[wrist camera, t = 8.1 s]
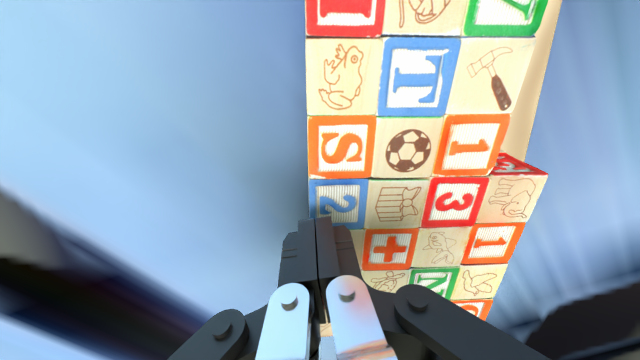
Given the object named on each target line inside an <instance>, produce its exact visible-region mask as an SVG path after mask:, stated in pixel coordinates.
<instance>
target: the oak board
mask: <svg viewBox="0 0 640 360" xmlns="http://www.w3.org/2000/svg"><path fill="white" fill-rule="evenodd" d="M561 3H562V0H548V3H547V6H546V9H545V12H544V15H543V18H542V22H541V25H540V27H539V28H538V30H537V32H536V33H535V37H536V44H535V47H534V50H533V53H532V56H531V59H530V62H529V65H528V68H527V71H526V74H525V77H524V80H523V83H522V86H521V89H520V92H519V95H518V98H517V101H516V104H515V107H514V109H513V111H512V112H511V119H510V124H509V126H508V129H507V132H506V135H505V138H504V141H503V144H502V146H501V150H503V151H505V152H506V153H507V154H508V155H510V156H512V157H514V158H516V159H518V160H520V161H522V162H524V160H525V156H526V152H527V148H528V143H529V139H530V135H531V131H532V126H533V122H534V118H535V114H536V109H537V105H538V101H539V96H540V92H541V88H542V84H543V79H544V75H545V71H546V67H547V62H548V58H549V54H550V50H551V45H552V41H553V37H554V32H555V28H556V24H557V20H558V15H559V11H560V7H561Z"/></svg>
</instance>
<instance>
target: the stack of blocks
mask: <svg viewBox="0 0 640 360" xmlns="http://www.w3.org/2000/svg"><path fill="white" fill-rule="evenodd" d="M547 3H548V0H305V34H306V40H305V52H306V97H307V139H308V189H309V219H312V218H314V219H315V223H316V218H319V217H325V216H331V220H332V226H340V225H345V226H346V227H347V228H348V229H349V230H350V232H351V236H352V240H353V243H354V248H355V251H356V255H357V259H358V263H359V267H360V271H361V275H362V277H363V279H364V281H365V282H366V283H367V284H368V285H369V286H371V287H372V288H374V289H376V290H379V291H384V292H391V293H396V291H397V290H398V289H399V288H400V287H402V286H404V285H408V284H418V285H422V286H425V287H427V288H429V289H431V290H432V291H434V292H436V293H438V294H439V295H441V296H443V297H444V298H446V299H448V300H450V301H451V302H453V303H455V304H456V305H458V306H460V307H462V308H463V309H465V310H467V311H468V312H470V313H472V314H474V315H475V316H477V317H479V318H480V319H482V320H484V321H485V319H486V317H487V314H488V312H489V310H490V307H491V305H492V303H493V298H492V297H494V296H495V293H496V291H497V289H498V287H499V285H500V282H501V280H502V278H503V275H504V273H505V271H506V269H507V266H508V260H509V259H510V258H511V256H512V254H513V251H514V249H515V246H516V244H517V242H518V240H519V238H520V236H521V234H522V232H523V229H524V226H525V223H526V222H527V221H528V219H529V217H530V215H531V213H532V211H533V209H534V207H535V204H536V202H537V200H538V198H539V195H540V193H541V191H542V189H543V187H544V184H545V182H546V180H547V177H548V173H546V172H544V171H542V170H540V169H538V168H535V167H533V166H531V165H529V164H527V163H525V162H522V161H520V160H518V159H516V158H514V157H512V156H510V155H508V154H507V153H506V152H505V151H503V150H501V146H502V144H503V141H504V138H505V135H506V132H507V129H508V126H509V124H510V119H511V112H512V111H513V109H514V107H515V104H516V101H517V98H518V95H519V92H520V89H521V86H522V83H523V80H524V77H525V74H526V71H527V68H528V65H529V62H530V59H531V56H532V53H533V50H534V47H535V44H536V37H535V33H536V32H537V30H538V28H539V27H540V25H541V22H542V18H543V15H544V12H545V9H546V6H547ZM325 313H326V310H325ZM320 333H321V337H326V336H333V332H332V327H331V323H328V320H327V315H326V324H320Z"/></svg>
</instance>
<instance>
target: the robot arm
mask: <svg viewBox="0 0 640 360" xmlns="http://www.w3.org/2000/svg"><path fill="white" fill-rule="evenodd" d="M325 310H326V313H325ZM326 315H327V320H328V323H331V327H332V332H333V338H334V344H335V349H336V355H337V360H551V359H549V358H547V357H545V356H544V355H542V354H540V353H539V352H537V351H535V350H533V349H532V348H530V347H528V346H527V345H525V344H523V343H521V342H520V341H518V340H516V339H515V338H513V337H511V336H509V335H508V334H506V333H504V332H503V331H501V330H499V329H497V328H496V327H494V326H492V325H491V324H489V323H487V322H485V321H484V320H482V319H480V318H479V317H477V316H475V315H474V314H472V313H470V312H468V311H467V310H465V309H463V308H462V307H460V306H458V305H456V304H455V303H453V302H451V301H450V300H448V299H446V298H444V297H443V296H441V295H439V294H438V293H436V292H434V291H432V290H431V289H429V288H427V287H425V286H422V285H418V284H408V285H404V286H402V287H400V288H399V289H398V290H397V291H396V293H391V292H384V291H379V290H376V289H374V288H372V287H371V286H369V285H368V284H367V283H366V282H365V281H364V279H363V277H362V275H361V271H360V267H359V263H358V259H357V255H356V251H355V248H354V243H353V240H352V236H351V232H350V230H349V229H348V228H347V227H346V226H345V225H340V226H332V220H331V216H325V217H319V218H316V223H315V219H314V218H312V219H306V220H299V223H298V232H293V233H289V234H288V235H287V237H286V238H285V240H284V241H283V248H282V256H281V264H280V272H279V280H278V288H277V290H275V291H274V292H273V294H272V295H271V297H270V299H269V303H268V304H267V305H265V306H264V307H262V308H260V309H258V310H256V311H254V312H252V313H250V314H247V315H245V316H244V315H243V314H242V313H241V312H240V311H238V310H235V309H228V310H224V311H221V312H219V313H217V314H216V315H214V316H213V317H212V318H211V319H210V320H208V321H207V322H206V323H205V324H204V325H203V326H202V327H201V328H200V329H199V330H198V331H197V332H196V333H195V334H194V335H193V336H191V337H190V338H189V339H188V340H187V341H186V342H185V343H184V344H183V345H182V346H181V347H180V348H179V349H178V350H177V351H175V352H174V353H173V354H172V355H171V356H170V357H169V358H168V359H167V360H321V343H320V341H321V333H320V324H326Z"/></svg>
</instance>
